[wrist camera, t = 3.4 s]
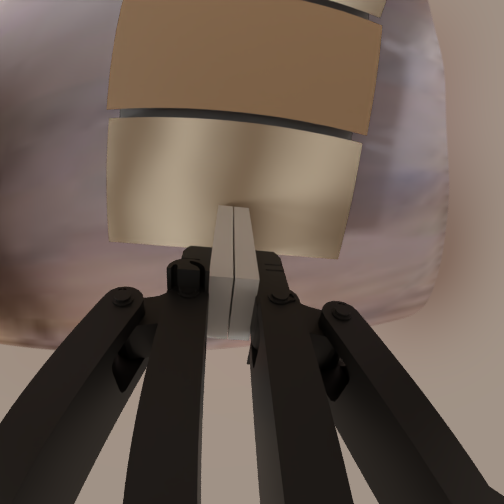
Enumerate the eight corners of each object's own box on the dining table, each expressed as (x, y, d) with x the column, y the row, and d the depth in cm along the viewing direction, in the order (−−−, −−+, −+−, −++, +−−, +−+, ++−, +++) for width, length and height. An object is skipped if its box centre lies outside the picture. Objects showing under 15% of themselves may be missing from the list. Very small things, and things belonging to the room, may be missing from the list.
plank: (120, 229, 17) (109, 241, 15) (122, 119, 14) (108, 118, 12) (327, 246, 18) (337, 259, 16) (348, 141, 15) (362, 143, 14)
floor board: (128, 220, 19) (110, 243, 16) (166, -69, 8) (156, -92, 5) (320, 236, 20) (335, 261, 17) (363, -44, 9) (383, -61, 6)
